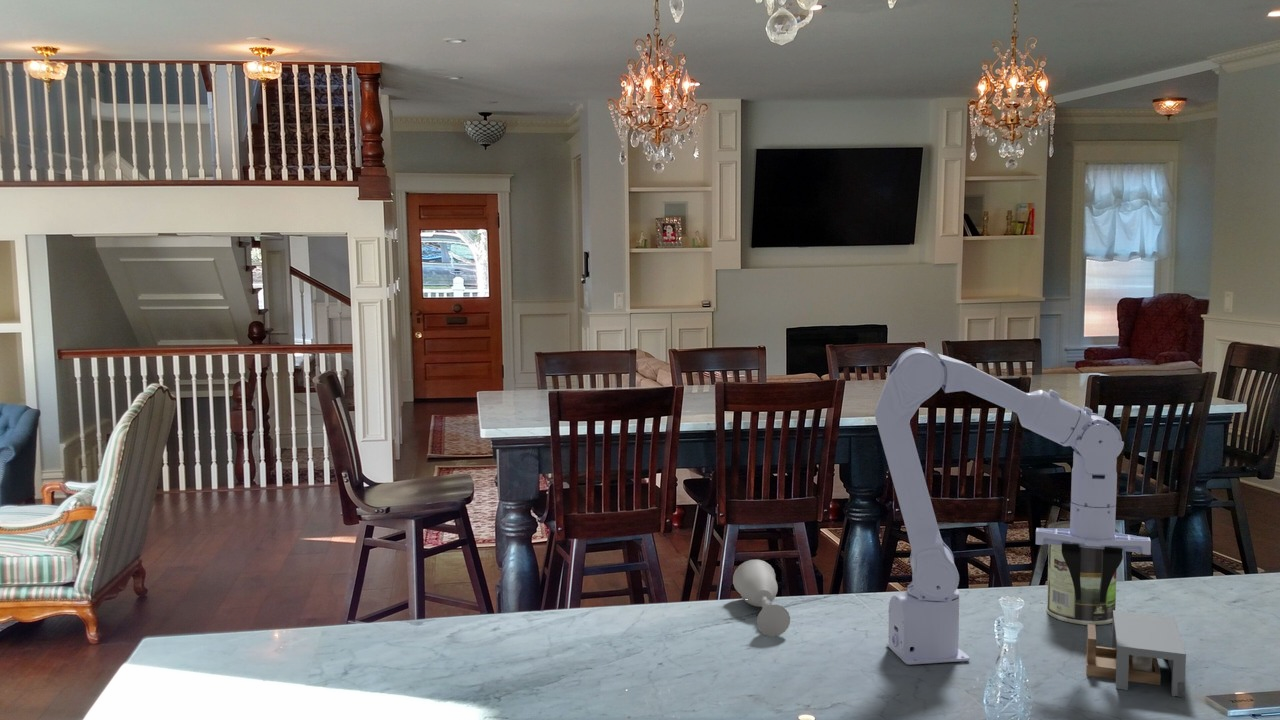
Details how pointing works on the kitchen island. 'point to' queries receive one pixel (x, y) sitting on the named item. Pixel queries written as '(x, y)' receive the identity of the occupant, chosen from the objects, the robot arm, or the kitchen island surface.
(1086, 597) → the coffee can
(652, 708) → the kitchen island surface
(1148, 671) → the tray
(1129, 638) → the shelf
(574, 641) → the kitchen island surface
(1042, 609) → the kitchen island surface
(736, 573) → the chalice
